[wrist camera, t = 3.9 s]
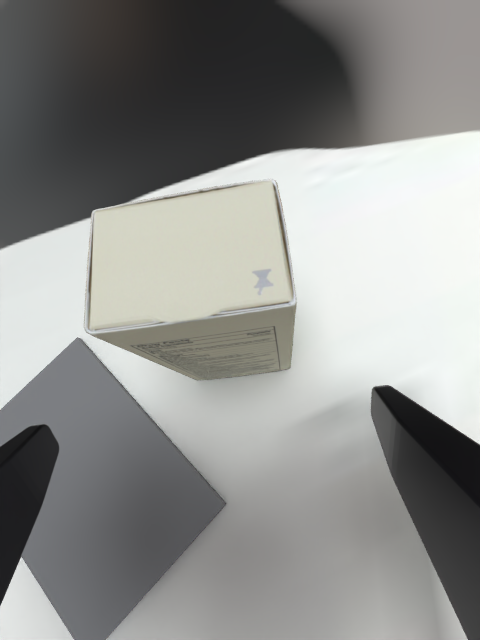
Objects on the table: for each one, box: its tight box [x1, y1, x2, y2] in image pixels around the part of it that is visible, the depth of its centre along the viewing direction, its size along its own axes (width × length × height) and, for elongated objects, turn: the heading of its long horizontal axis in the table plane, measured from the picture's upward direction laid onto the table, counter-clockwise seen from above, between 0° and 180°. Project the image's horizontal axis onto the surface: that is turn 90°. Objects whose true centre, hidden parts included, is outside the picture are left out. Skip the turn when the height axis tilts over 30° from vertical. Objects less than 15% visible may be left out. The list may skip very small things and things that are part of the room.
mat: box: [0, 337, 226, 640], centre depth 20 cm, size 14×10×1 cm
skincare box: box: [84, 179, 296, 380], centre depth 15 cm, size 6×4×12 cm
